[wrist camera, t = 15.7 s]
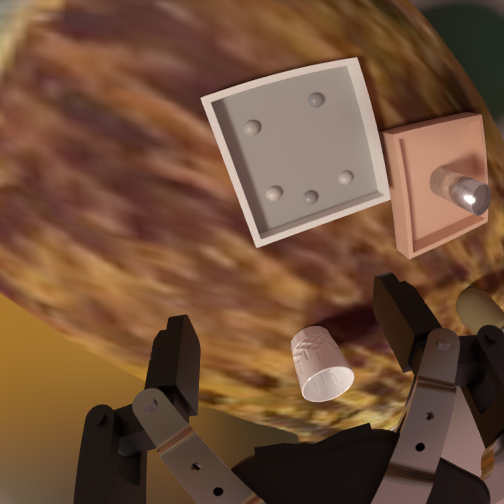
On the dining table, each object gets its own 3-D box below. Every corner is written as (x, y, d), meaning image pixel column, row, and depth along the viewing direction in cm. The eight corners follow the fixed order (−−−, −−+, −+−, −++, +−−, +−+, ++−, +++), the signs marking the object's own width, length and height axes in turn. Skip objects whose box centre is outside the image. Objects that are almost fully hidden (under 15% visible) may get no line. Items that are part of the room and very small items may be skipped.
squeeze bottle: (447, 318, 52) (496, 375, 36) (458, 285, 49) (516, 340, 32) (471, 310, 53) (519, 360, 37) (482, 279, 49) (537, 327, 33)
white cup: (299, 318, 46) (319, 364, 37) (340, 326, 48) (364, 368, 39) (279, 354, 48) (292, 400, 40) (319, 360, 51) (336, 402, 42)
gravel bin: (201, 99, 31) (200, 98, 28) (344, 61, 30) (357, 57, 27) (252, 236, 39) (256, 247, 36) (377, 192, 38) (390, 199, 35)
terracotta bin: (378, 132, 35) (392, 134, 32) (466, 112, 34) (481, 114, 31) (397, 249, 43) (409, 259, 40) (474, 214, 42) (487, 221, 39)
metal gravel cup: (428, 170, 37) (470, 188, 29) (448, 163, 37) (491, 179, 28) (431, 198, 39) (471, 220, 30) (451, 190, 38) (491, 210, 30)
